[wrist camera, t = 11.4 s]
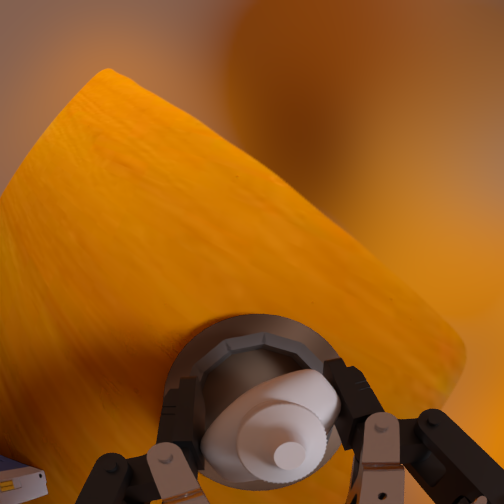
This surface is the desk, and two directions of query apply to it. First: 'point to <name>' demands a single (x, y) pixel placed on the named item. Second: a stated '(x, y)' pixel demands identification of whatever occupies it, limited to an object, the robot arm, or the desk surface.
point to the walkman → (20, 482)
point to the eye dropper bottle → (273, 430)
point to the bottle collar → (249, 369)
